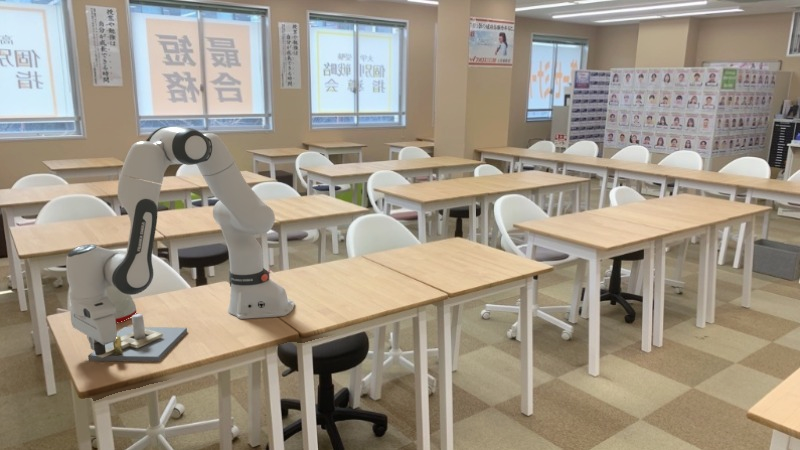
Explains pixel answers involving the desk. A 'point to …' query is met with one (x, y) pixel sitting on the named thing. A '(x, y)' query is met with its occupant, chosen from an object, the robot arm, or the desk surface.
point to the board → (147, 351)
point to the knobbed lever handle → (127, 342)
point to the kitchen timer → (121, 303)
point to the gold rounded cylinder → (117, 346)
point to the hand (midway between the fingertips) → (95, 349)
